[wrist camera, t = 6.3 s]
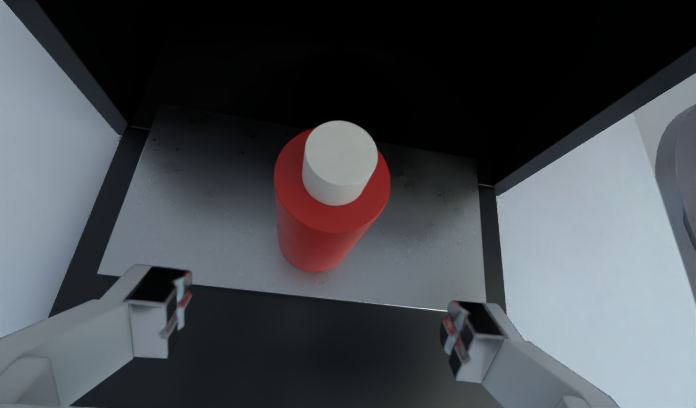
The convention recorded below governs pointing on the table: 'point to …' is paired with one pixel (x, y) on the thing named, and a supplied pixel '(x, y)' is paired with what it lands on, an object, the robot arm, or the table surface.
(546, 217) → the table surface
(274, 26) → the oven
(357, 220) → the ketchup bottle
